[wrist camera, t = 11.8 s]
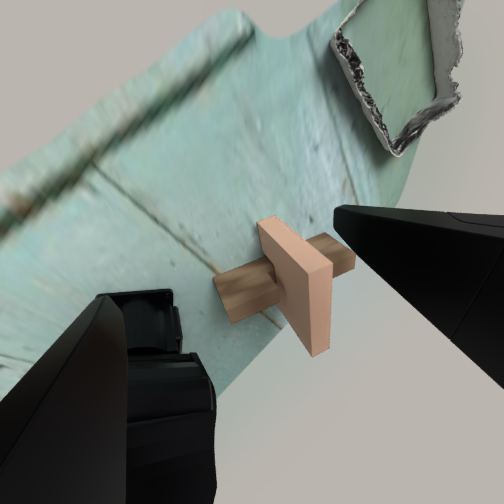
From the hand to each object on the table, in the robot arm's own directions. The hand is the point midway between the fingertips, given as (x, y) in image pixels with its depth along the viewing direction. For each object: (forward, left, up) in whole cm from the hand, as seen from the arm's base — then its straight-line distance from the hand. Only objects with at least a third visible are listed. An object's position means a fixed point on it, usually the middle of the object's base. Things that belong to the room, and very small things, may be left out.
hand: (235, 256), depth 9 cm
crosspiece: (+10, -8, -12) cm, 18 cm away
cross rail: (+10, -8, -12) cm, 18 cm away
